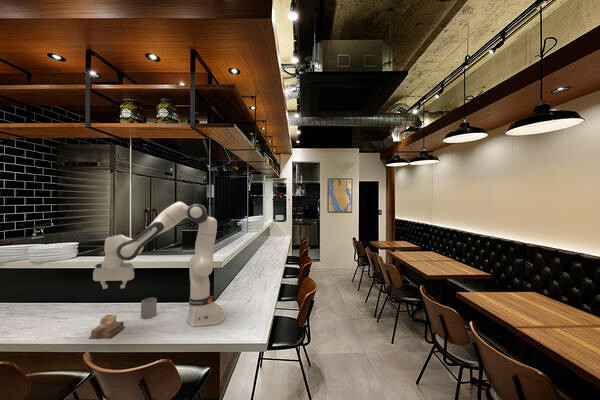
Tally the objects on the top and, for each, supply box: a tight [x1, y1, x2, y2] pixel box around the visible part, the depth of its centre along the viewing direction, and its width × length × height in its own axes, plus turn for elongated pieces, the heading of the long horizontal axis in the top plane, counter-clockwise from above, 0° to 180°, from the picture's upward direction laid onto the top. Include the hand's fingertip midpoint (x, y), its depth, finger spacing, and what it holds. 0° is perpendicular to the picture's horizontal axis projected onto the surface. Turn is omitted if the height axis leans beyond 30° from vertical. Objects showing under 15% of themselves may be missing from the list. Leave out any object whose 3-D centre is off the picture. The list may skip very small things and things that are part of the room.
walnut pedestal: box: [88, 320, 126, 340], centre depth 133 cm, size 11×11×4 cm
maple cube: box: [99, 314, 117, 328], centre depth 133 cm, size 5×5×5 cm
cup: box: [140, 297, 158, 320], centre depth 155 cm, size 8×8×10 cm
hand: (113, 288), depth 136 cm, fingers open, 8 cm apart
